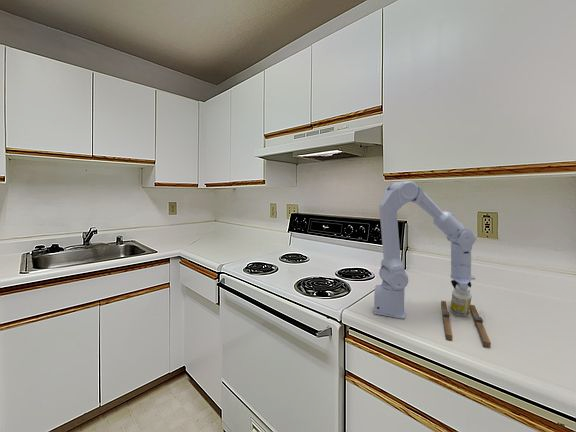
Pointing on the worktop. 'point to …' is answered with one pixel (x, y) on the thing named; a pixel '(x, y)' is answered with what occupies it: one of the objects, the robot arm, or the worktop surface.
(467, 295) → the supplement bottle
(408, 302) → the worktop surface
